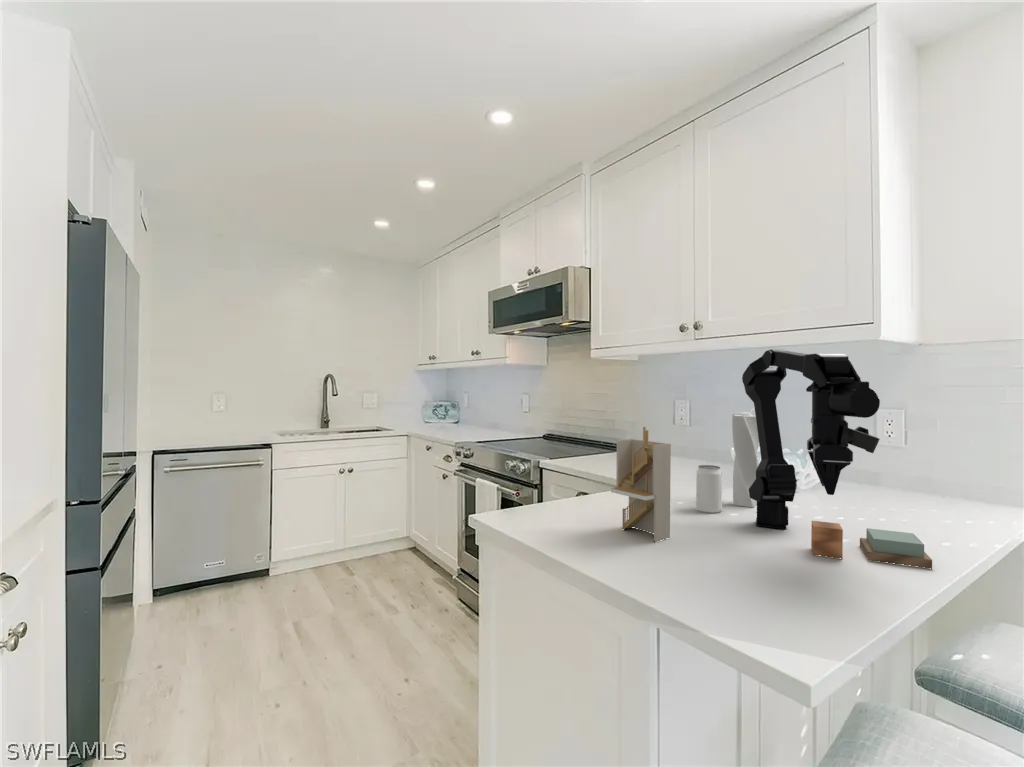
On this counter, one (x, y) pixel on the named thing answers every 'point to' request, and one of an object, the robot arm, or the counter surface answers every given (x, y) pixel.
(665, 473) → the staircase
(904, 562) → the tower base
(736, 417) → the skyscraper
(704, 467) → the can
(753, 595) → the counter surface
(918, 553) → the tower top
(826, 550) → the block
